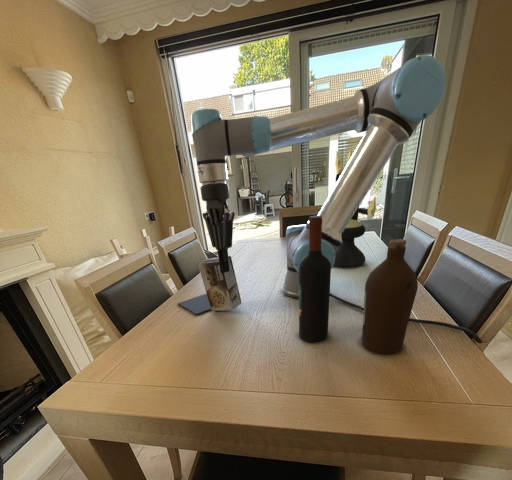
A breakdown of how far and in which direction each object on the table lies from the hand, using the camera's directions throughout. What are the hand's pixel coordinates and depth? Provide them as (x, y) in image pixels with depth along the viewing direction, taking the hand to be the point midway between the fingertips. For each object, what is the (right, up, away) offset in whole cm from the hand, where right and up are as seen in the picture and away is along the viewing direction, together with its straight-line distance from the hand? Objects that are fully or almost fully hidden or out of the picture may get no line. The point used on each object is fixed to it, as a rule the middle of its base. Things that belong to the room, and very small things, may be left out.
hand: (225, 272), depth 88 cm
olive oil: (+40, -22, -16) cm, 49 cm away
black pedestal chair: (+50, +15, +46) cm, 70 cm away
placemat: (-8, -7, +18) cm, 21 cm away
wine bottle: (+25, -20, -9) cm, 33 cm away
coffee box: (-1, -10, +10) cm, 14 cm away
